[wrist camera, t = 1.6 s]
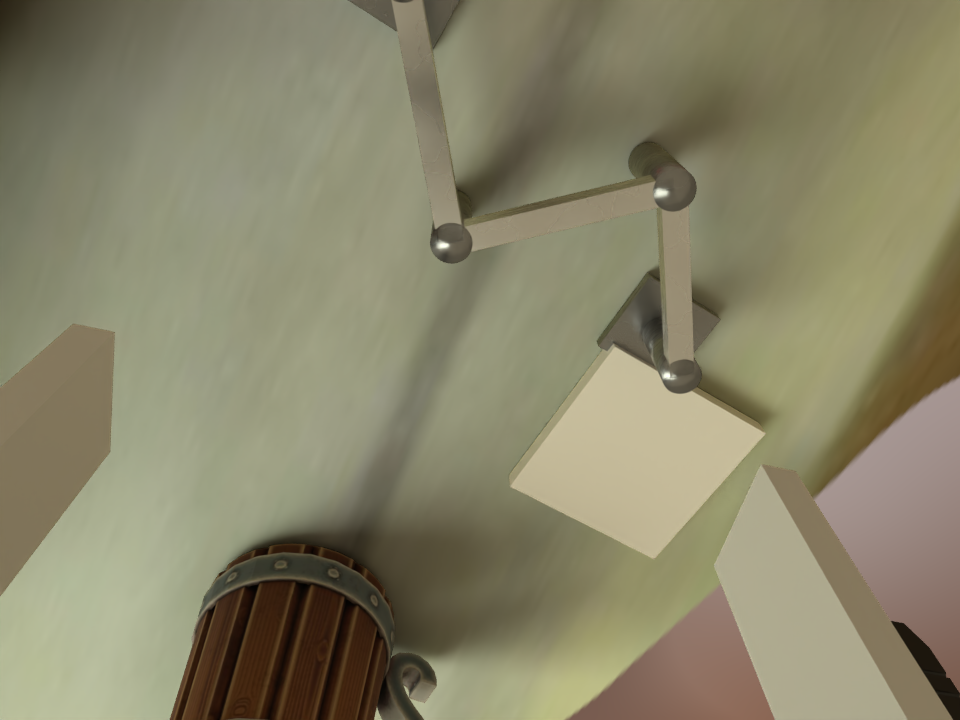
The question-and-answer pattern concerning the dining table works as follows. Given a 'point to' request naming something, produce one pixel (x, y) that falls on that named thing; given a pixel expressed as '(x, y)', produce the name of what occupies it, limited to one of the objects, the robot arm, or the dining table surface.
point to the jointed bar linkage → (562, 210)
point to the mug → (298, 644)
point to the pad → (634, 452)
